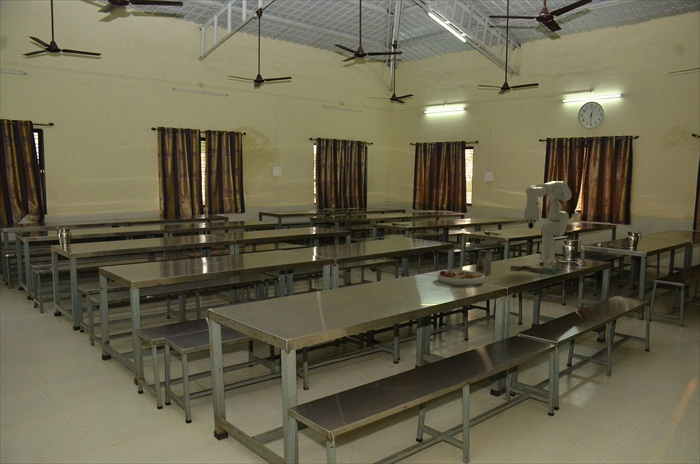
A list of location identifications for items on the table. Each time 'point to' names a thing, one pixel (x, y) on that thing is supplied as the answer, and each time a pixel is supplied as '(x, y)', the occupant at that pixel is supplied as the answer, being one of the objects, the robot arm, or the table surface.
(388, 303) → the table surface
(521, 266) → the trap board
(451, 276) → the bowl
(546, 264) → the birch block
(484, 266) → the coffee box
